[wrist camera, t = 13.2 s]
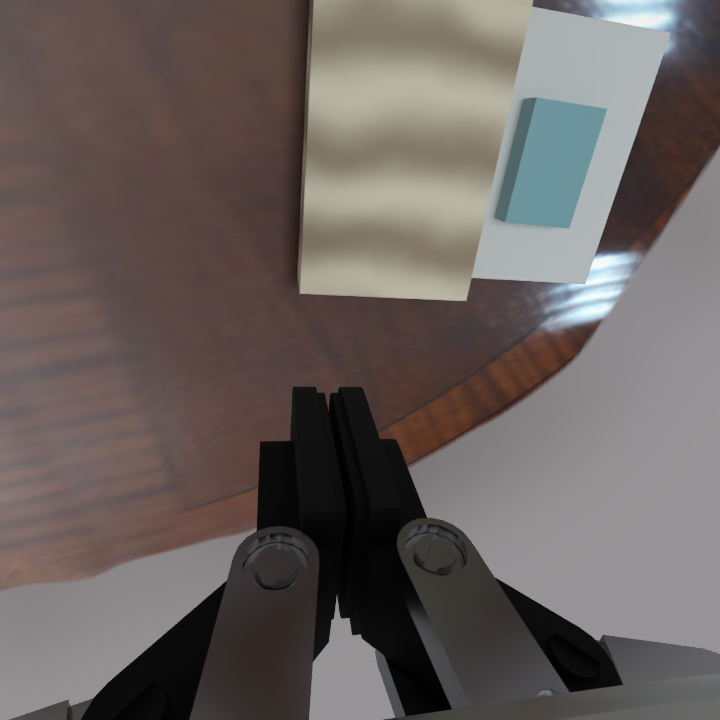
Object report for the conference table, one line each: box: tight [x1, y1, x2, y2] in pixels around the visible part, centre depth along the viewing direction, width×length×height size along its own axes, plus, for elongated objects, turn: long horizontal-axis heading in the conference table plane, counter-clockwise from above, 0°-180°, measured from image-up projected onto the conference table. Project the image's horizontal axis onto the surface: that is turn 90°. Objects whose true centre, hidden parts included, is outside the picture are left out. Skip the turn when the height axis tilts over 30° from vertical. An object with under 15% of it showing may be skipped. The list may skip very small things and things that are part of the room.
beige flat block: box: [297, 0, 533, 301], centre depth 34 cm, size 22×14×4 cm, turn 174°
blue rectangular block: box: [495, 97, 607, 229], centre depth 37 cm, size 9×6×2 cm, turn 173°
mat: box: [471, 7, 671, 284], centre depth 38 cm, size 20×13×1 cm, turn 174°
